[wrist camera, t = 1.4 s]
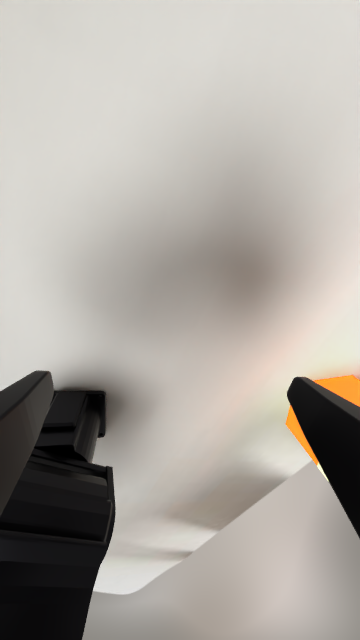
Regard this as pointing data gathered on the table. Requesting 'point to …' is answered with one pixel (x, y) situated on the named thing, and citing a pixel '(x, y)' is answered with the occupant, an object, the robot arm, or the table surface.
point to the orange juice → (342, 386)
